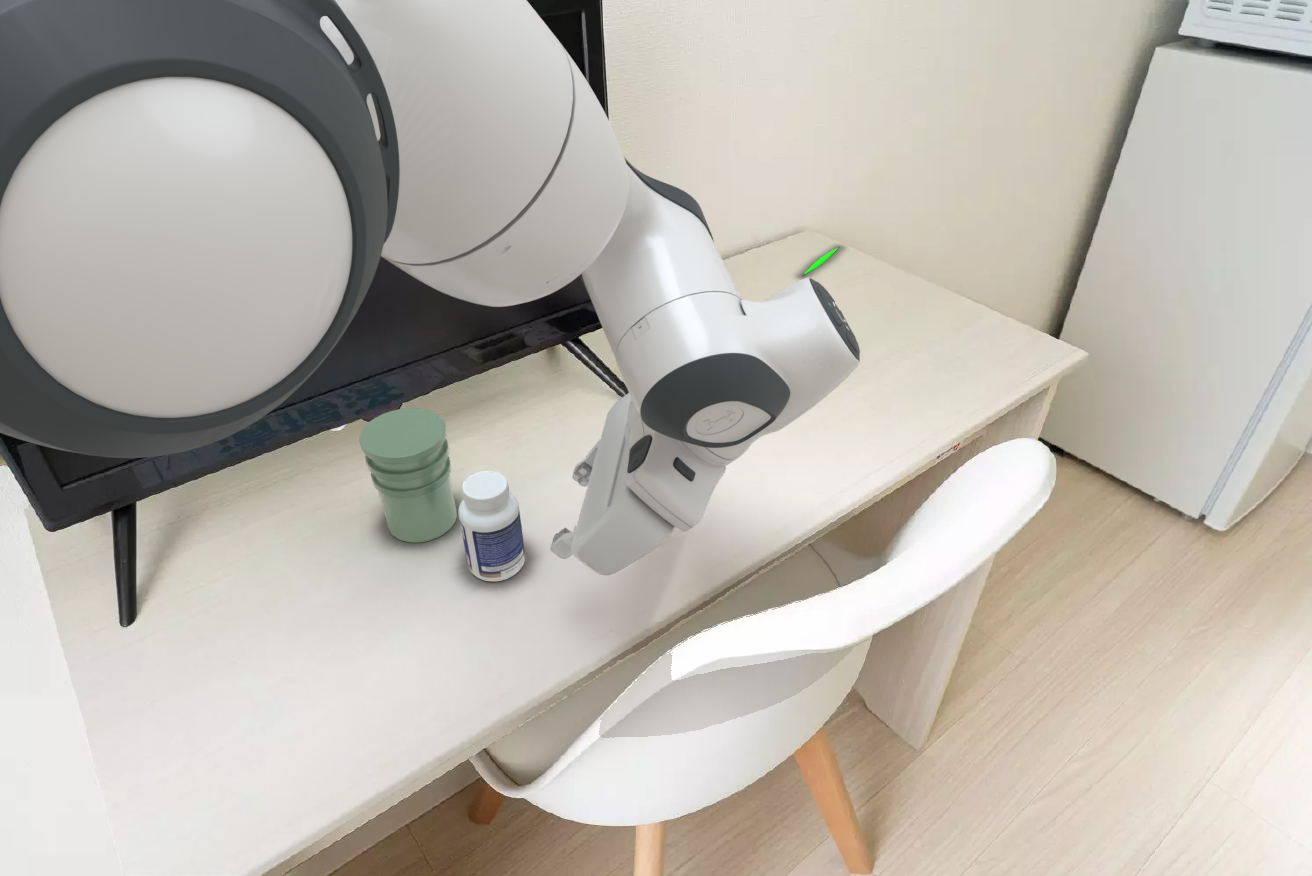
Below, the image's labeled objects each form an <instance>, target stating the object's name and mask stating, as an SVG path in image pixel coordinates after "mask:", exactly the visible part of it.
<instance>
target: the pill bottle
mask: <svg viewBox="0 0 1312 876" xmlns="http://www.w3.org/2000/svg"><path fill="white" fill-rule="evenodd" d="M461 492H462V500H461V501H460V503H459V506H458V510H457V511H458V512H457V513H458V514H457V515H458V520H459V525H460V531H461V535H462V540H463V546H464V551H465V556H466V561H467V566H468V569H469V571H470V572H471V574H472V575H473V576H475V577H476V578H477V579H480V580H482V581H486V582H500V581H504V580H507V579H510V578H511V577H513V576H514V575H516V574H518V573H519V572H520V571H521V569H522V568H523V566H524V564H525V561H526V553H525V551H526V550H525V544H524V536H523V535H524V534H523V525H522V520H521V512H520V505H519V501H518V499H517V497H516V495H515V494H514V493H512V492H511V491H510V487H509V483H508V478H507V477H506V475H504V474H503V473H501V472H500V471H496V470H480V471H478V472H477V471H476V472H474V473H472V474H470V475H469V476H468V477H466V478H465V479H464V481H463V483H462V485H461Z"/></svg>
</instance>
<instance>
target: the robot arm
mask: <svg viewBox="0 0 1312 876" xmlns="http://www.w3.org/2000/svg"><path fill="white" fill-rule="evenodd" d="M381 257H382V259H384V260H386V261H387V262H388V263H390V264H392V265H394V266H395V267H397V268H399V269H400V270H401V271H403V272H405V273H406V274H408V275H409V276H411V277H412V278H414V279H416V280H418V282H421V283H423V284H424V285H427V286H428V287H430V288H432V289H434V290H436V291H438V292H440V293H442V294H444V295H448V296H450V297H453V298H455V299H458V300H462V301H464V302H468V303H471V304H475V305H481V306H484V307H485V306H486V307H493V308H502V307H504V308H505V307H511V306H516V305H520V304H525V303H529V302H532V301H536V300H539V299H541V298H544V297H547V296H549V295H551V294H553V293H555V292H557V291H559V290H560V289H562V288H564V287H566V286H567V285H568V284H570V283H572V282H573V281H575V280H576V279H577V278H578V277H579V279H580V281H581V284H582V286H583V288H584V289H585V291H586V292H587V294H588V296H589V299H590V301H591V303H592V306H593V308H594V310H595V313H596V315H597V318H598V320H599V323H600V325H601V328H602V330H603V332H604V335H605V337H606V340H607V342H608V345H609V347H610V350H611V352H612V355H613V357H614V359H615V362H616V365H617V367H618V370H619V372H620V375H621V377H622V380H623V382H624V384H625V387H626V389H627V392H628V393H626V394H625V395H623V396H622V397H621V398H620V399H617V401H616V402H614V404H613V405H612V406H611V408H610V409H609V410H608V412H607V414H606V417H605V423H604V424H603V428H602V431H601V432H602V433H601V436H600V439H598V440H597V442H596V443H595V444H594V446H593V447H591V450H589V452H588V453H587V454H586V456H585V458H583V459H582V460H580V461H578V463H576V465H575V466H574V469H573V473H572V477H571V478H572V480H573V481H574V482H577V483H578V485H579V486H580V487H586V489H585V494H584V498H583V501H582V504H581V508H580V513H579V514H578V515H579V516H578V519H577V523H576V525H575V526H574V527H573V530H572V531H571V530H570V529H568V528H567V527H564V528H561V530H560V531H558V532H557V533H556V534H554V536H553V539H552V541H551V544H550V548H549V550H550V552H552V553H553V554H554V555H556V557H558V558H559V559H561V560H567V559H569V558H570V557H571V556H573V557H574V558H575V559H577V560H578V561H579V562H581V563H582V564H583V565H584V566H585V567H587V568H588V569H590V570H591V571H592V572H594V573H596V574H598V575H599V576H600V575H601V576H611V575H614V574H616V573H618V572H620V571H622V570H624V569H625V568H627V567H629V566H630V565H632V564H634V563H636V562H637V561H638V560H641V559H642V558H643V557H645V556H647V555H648V554H650V553H651V552H653V551H654V550H656V549H657V548H658V547H660V546H661V545H662V544H663V543H664V542H665V541H667V539H668V538H669V537H670V535H671V534H672V533H673V532H674V529H675V528H676V529H678V530H679V531H681V532H683V533H685V532H688V531H690V530H691V529H693V528H694V527H697V525H698V524H699V523H700V522H701V520H702V519H703V518H704V515H705V513H706V509H707V508H708V504H709V502H710V499H711V498H712V495H713V492H714V491H715V488H716V487H717V485H718V483H719V482H720V480H722V477H723V476H724V474H725V473H726V470H727V467H728V466H729V465H730V464H732V463H733V462H735V461H736V460H737V459H739V458H740V457H742V456H743V455H745V453H746V452H747V451H748V450H749V449H750V447H751V446H752V445H753V444H754V443H755V442H756V441H757V440H758V439H759V440H760V438H762V437H764V436H766V435H770V434H772V433H773V434H774V433H777V432H779V431H781V430H783V429H784V428H786V427H788V425H790V424H792V423H793V422H795V421H796V420H798V419H799V418H800V417H802V416H803V415H805V414H806V413H807V412H808V411H810V410H811V409H812V408H814V407H815V406H816V405H818V404H819V403H820V402H822V401H823V400H824V399H825V398H827V397H828V396H829V395H830V394H832V392H834V391H835V390H836V389H837V388H838V387H839V386H840V385H841V384H843V383H844V382H845V381H846V380H847V379H848V378H849V377H850V376H851V375H852V373H854V371H855V370H856V369H857V368H858V367H859V364H860V363H861V362H860V361H861V359H860V358H861V356H860V355H861V349H860V346H859V342H858V340H857V338H856V336H855V334H854V332H853V330H852V329H851V327H850V325H849V323H848V321H847V319H846V317H845V316H844V314H843V312H842V311H841V310H840V309H839V307H838V305H837V304H836V300H834V298H833V297H832V295H831V294H830V293H829V291H828V290H827V289H826V287H824V285H822V284H821V283H820V282H819V281H816V280H814V278H811V277H803V279H799V280H798V281H795V282H793V283H791V284H789V285H788V286H785V287H783V288H782V289H781V290H779V291H777V292H776V293H774V294H772V295H771V296H769V297H768V298H765V299H764V300H763V301H752V300H747V299H744V298H743V297H742V295H741V294H740V292H739V290H738V288H737V285H736V284H735V281H734V280H733V277H732V276H731V274H730V271H729V269H728V268H727V265H726V263H725V262H724V260H723V258H722V256H721V254H720V252H719V250H718V247H717V246H716V243H715V241H714V237H713V235H712V232H711V229H710V227H709V225H708V222H707V220H706V218H705V214H704V212H703V210H702V207H701V205H700V204H699V202H698V201H697V200H696V199H695V198H694V197H693V196H692V195H691V194H690V193H688V192H687V191H684V190H683V189H681V188H679V187H677V186H674V185H672V184H669V183H667V182H664V181H661V180H659V179H656V178H653V177H651V176H649V175H647V174H645V173H644V172H642V171H640V170H639V169H638V168H637V167H635V166H634V165H633V164H632V163H630V161H629V160H628V159H627V158H626V157H625V156H624V154H623V151H622V147H621V145H620V143H619V140H618V138H617V135H616V134H615V130H614V129H613V126H612V125H611V122H610V120H609V118H608V116H607V114H606V112H605V110H604V108H603V107H602V105H601V103H600V101H599V99H598V98H597V95H596V94H595V92H594V91H593V89H592V86H591V85H590V83H589V81H587V78H586V77H585V75H584V74H583V73H582V71H581V70H580V68H579V67H578V65H577V63H576V62H575V61H574V59H573V58H572V56H571V55H570V54H569V52H568V51H567V49H566V48H565V47H564V46H563V44H562V42H560V41H559V39H558V38H557V36H556V35H555V34H554V32H552V30H551V29H550V28H549V26H548V25H547V24H546V23H545V21H544V20H543V19H542V18H541V17H540V15H539V14H538V12H537V11H536V10H535V9H534V7H532V5H531V4H530V2H529V1H528V0H0V434H2V435H5V436H9V437H12V438H14V439H17V440H21V441H24V442H28V443H31V444H33V445H37V446H43V447H46V448H51V449H54V450H59V451H63V452H70V453H77V454H81V455H88V456H95V457H103V458H114V459H115V458H117V459H137V458H138V459H139V458H141V459H144V458H152V457H161V456H168V455H174V454H179V453H184V452H188V451H192V450H195V449H199V448H202V447H206V446H208V445H212V444H214V443H216V442H218V441H221V440H224V439H226V438H229V437H230V436H232V435H234V434H237V433H238V432H241V431H242V430H244V429H246V428H247V427H250V426H251V425H253V424H255V423H256V422H258V421H260V420H261V419H262V418H263V417H265V416H266V415H268V414H269V413H270V412H273V410H275V409H276V408H278V407H279V406H280V405H282V404H283V403H284V402H285V401H286V400H287V399H288V398H290V397H291V396H292V395H293V394H294V393H295V392H296V391H298V389H300V388H301V387H302V385H303V384H305V383H306V381H307V380H309V378H310V377H311V376H312V375H313V374H314V373H315V372H316V371H317V370H318V368H319V367H320V366H321V365H322V364H323V363H324V361H325V360H326V359H327V357H328V356H329V355H330V353H331V352H332V351H333V349H334V348H335V347H336V345H337V344H338V343H339V341H340V340H341V338H342V337H343V335H344V334H345V333H346V331H347V329H348V327H349V326H350V325H351V323H352V321H353V320H354V318H355V317H356V315H357V313H358V311H359V309H360V307H361V306H362V303H363V302H364V299H365V297H366V296H367V293H368V291H369V290H370V287H371V284H372V283H373V280H374V278H375V275H376V272H377V269H378V266H379V263H380V260H381Z"/></svg>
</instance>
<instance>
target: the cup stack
mask: <svg viewBox="0 0 1312 876" xmlns="http://www.w3.org/2000/svg"><path fill="white" fill-rule="evenodd" d="M447 436H448V429H447V424H446V421H445V420H444V418H443V417H442V416H441V415H440V414H438V413H437V412H435V411H432V410H429V409H427V408H419V407H417V408H416V407H406V408H398V409H394V410H390V411H388V412H384V413H382V414H380V415H378V416H375V417H374V418H373V419H371V420H370V421H368V422H367V424H365V425H364V426H363V428H362V429H361V432H360V433H359V439H358V441H359V445H360V449H361V451H362V453H363V455H364V460H365V464H366V467H367V469H368V471H369V472H370V477H371V481H372V485H373V487H374V488H375V489H376V490H377V492H378V495H379V499H380V503H381V506H382V510H383V516H384V518H385V522H386V526H387V530H388V531H389V533H390V534H391V536H392V537H394V538H395V539H396V540H400V541H402V542H404V543H405V542H406V543H411V544H412V543H413V544H414V543H416V544H417V543H418V544H419V543H426V542H429V541H432V540H435V539H438V538H440V537H442V536H443V535H445V534H446V533H447V532H449V531H450V530H451V529H452V527H453V526H454V524H455V523H456V521H457V518H458V514H457V513H458V512H457V507H456V503H455V497H454V491H453V490H454V489H453V486H452V480H451V472H452V462H451V458H450V457H449V455H450V447H449V442H448V439H447Z"/></svg>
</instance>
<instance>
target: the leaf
mask: <svg viewBox="0 0 1312 876" xmlns="http://www.w3.org/2000/svg"><path fill="white" fill-rule="evenodd" d="M839 248H840V246H838V247H836V248H835V249H833V250H831V251H830V252H828V253H826V254H825V255H823V256H821V257H820V258H819V259H817V260H816V261H815V262H814V263H813V264H812V265H810V267H809V268H808V269H807V270H806V271H805V272H804V273H803V274H802V275H801V276H805V275H807V274H808V273H810V272H812V271H813V270H815V269H817V268H819V267H820V266H821V265H823V264H824V263H825V262H826V261H827V260H828V259H829V258H830V257H831V256H832V255H833V254H834V253H835V252H836V251H837V250H838V249H839Z"/></svg>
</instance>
